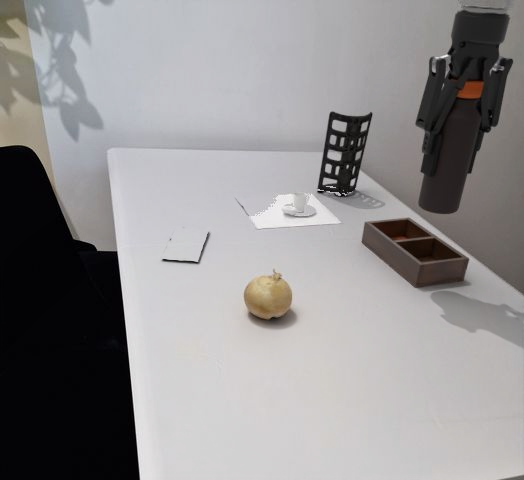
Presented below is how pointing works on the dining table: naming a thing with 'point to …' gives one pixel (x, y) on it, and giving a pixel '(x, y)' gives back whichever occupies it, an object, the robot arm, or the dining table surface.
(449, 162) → the dark bottle
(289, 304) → the onion
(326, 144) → the holder
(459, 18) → the robot arm
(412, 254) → the bottle holder
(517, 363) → the dining table surface
